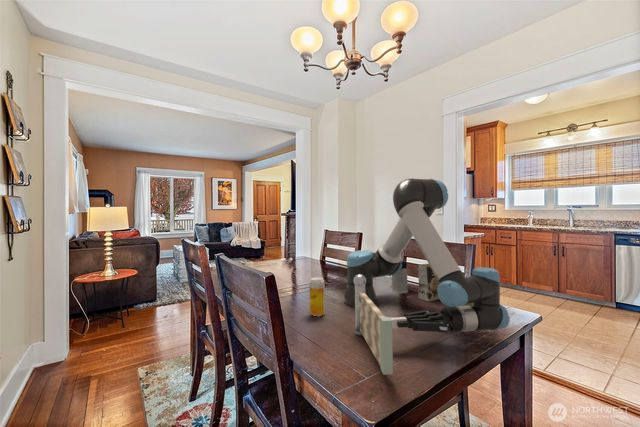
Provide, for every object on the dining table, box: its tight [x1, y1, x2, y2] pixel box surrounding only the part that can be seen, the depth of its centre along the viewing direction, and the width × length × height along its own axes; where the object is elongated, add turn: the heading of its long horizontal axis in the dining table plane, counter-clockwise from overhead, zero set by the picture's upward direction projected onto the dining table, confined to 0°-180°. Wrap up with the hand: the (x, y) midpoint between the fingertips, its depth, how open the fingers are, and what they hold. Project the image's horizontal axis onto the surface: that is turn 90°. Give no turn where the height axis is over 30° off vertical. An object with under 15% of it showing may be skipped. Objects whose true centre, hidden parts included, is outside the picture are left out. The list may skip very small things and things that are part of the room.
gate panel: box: [359, 292, 394, 376], centre depth 85 cm, size 26×2×14 cm, turn 6°
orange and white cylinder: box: [309, 276, 326, 317], centre depth 117 cm, size 6×6×15 cm
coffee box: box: [418, 263, 440, 302], centre depth 136 cm, size 9×6×16 cm
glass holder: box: [389, 260, 409, 295], centre depth 151 cm, size 9×14×15 cm, turn 23°
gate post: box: [353, 274, 366, 337], centre depth 100 cm, size 5×5×21 cm
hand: (385, 323), depth 88 cm, fingers closed
